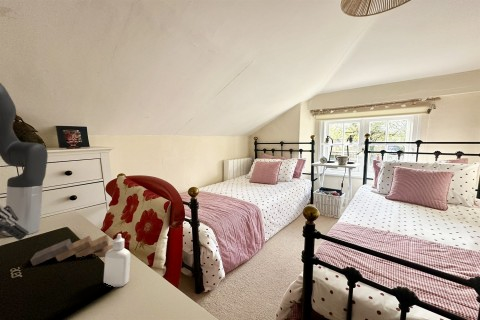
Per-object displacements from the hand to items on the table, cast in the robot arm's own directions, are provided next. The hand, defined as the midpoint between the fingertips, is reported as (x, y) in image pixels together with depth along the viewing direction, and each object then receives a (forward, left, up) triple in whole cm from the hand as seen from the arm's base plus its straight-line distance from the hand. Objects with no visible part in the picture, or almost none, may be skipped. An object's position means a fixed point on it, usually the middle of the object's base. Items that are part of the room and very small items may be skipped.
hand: (24, 236), depth 57 cm
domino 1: (+2, +7, -7) cm, 10 cm away
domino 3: (+5, +15, -7) cm, 17 cm away
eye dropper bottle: (+25, +15, -8) cm, 31 cm away
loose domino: (+1, +2, -7) cm, 7 cm away
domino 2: (+4, +11, -7) cm, 14 cm away
